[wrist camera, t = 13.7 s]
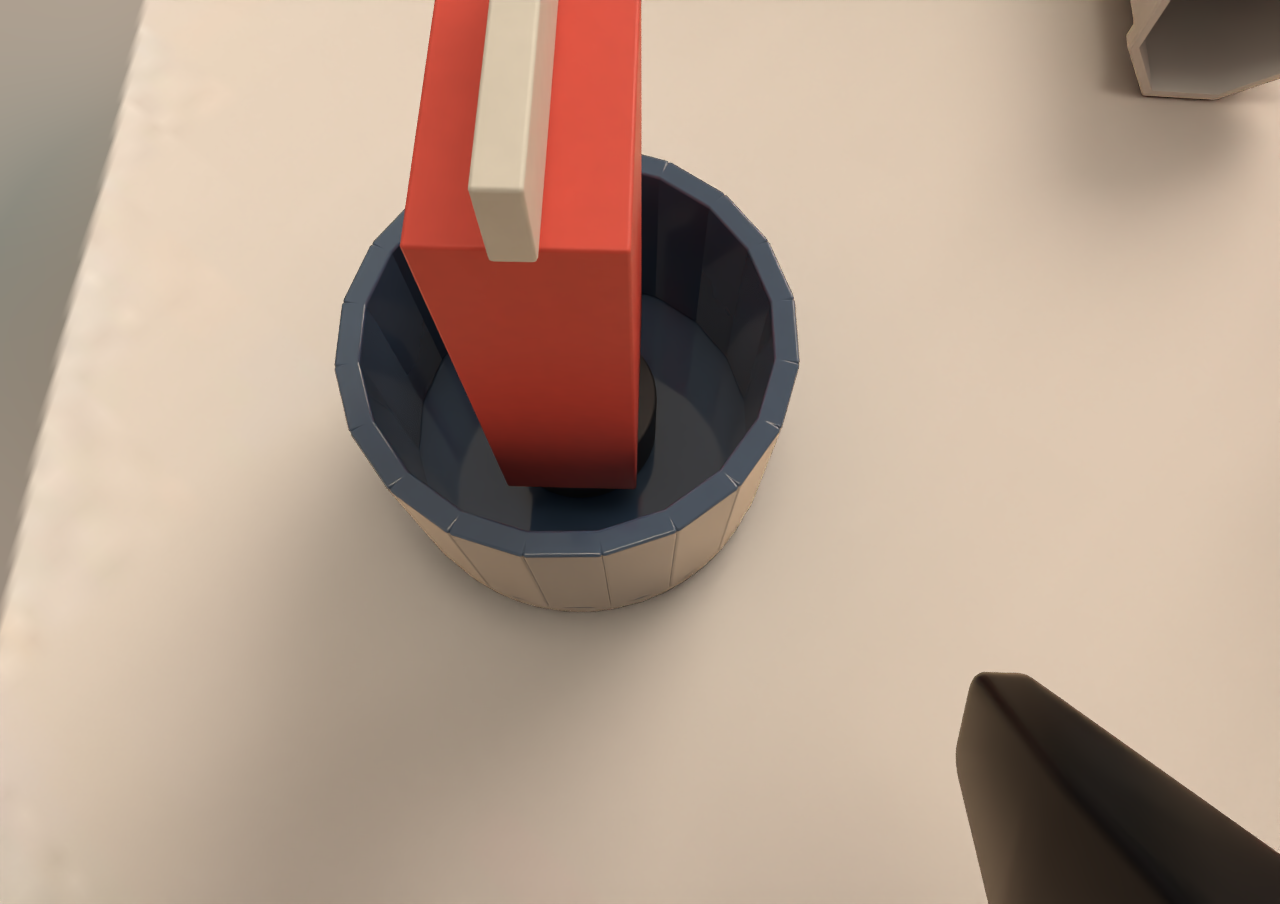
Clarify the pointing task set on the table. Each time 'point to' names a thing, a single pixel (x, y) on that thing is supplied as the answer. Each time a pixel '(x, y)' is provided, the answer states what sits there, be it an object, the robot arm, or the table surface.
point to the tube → (1204, 46)
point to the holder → (685, 413)
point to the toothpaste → (537, 232)
